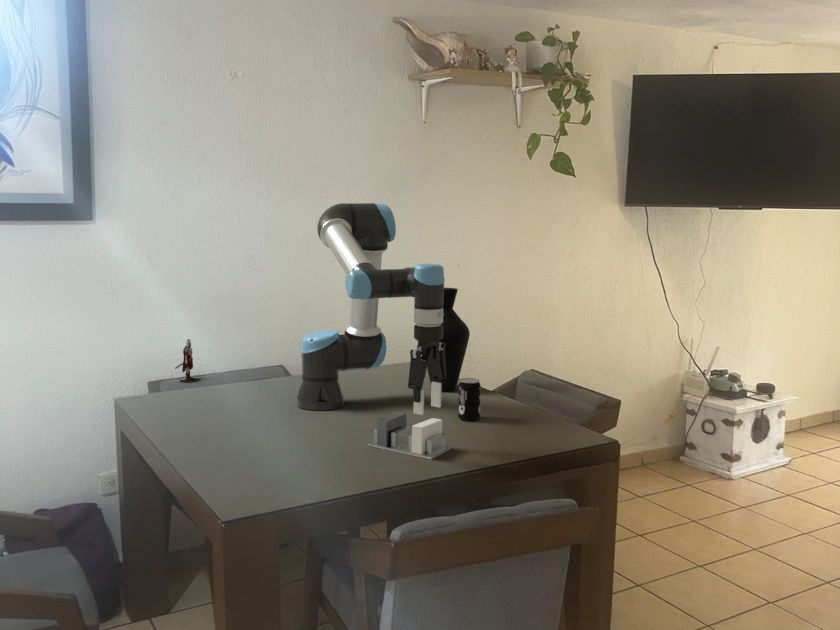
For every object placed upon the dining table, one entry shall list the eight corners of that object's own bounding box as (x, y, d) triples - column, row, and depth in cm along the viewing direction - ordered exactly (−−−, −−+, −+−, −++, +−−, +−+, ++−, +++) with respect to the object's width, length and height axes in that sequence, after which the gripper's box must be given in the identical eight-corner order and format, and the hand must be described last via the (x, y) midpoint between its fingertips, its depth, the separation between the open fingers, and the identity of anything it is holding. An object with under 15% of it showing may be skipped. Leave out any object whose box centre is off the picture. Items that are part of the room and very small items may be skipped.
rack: (367, 445, 214) (367, 418, 213) (389, 436, 222) (389, 409, 221) (431, 459, 203) (431, 430, 202) (450, 449, 212) (451, 421, 211)
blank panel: (411, 451, 206) (412, 425, 206) (431, 443, 215) (432, 417, 214) (421, 453, 205) (421, 427, 204) (441, 445, 213) (442, 419, 212)
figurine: (196, 383, 281) (194, 341, 278) (175, 382, 281) (173, 340, 278) (201, 378, 287) (200, 337, 285) (181, 378, 287) (179, 337, 285)
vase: (433, 397, 265) (435, 293, 259) (410, 386, 280) (411, 287, 274) (477, 392, 273) (480, 290, 267) (452, 381, 288) (454, 285, 282)
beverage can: (478, 422, 237) (479, 383, 235) (456, 421, 238) (457, 382, 236) (481, 416, 243) (482, 378, 241) (459, 415, 244) (460, 377, 242)
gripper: (419, 331, 194) (418, 421, 198) (461, 320, 211) (459, 403, 215) (393, 328, 198) (393, 416, 202) (437, 317, 215) (435, 399, 219)
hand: (427, 410), depth 208 cm, fingers open, 8 cm apart
